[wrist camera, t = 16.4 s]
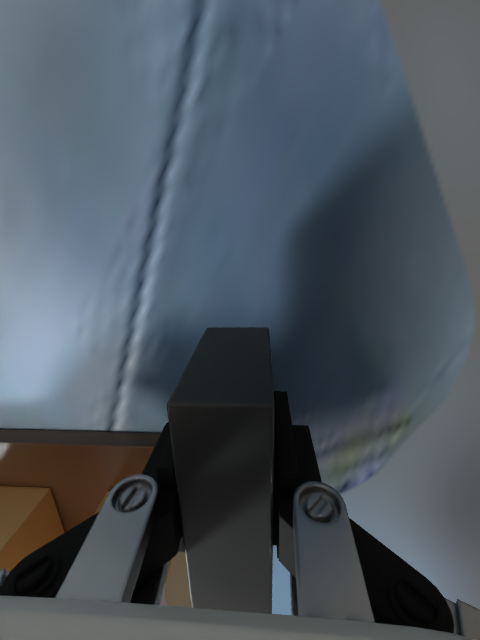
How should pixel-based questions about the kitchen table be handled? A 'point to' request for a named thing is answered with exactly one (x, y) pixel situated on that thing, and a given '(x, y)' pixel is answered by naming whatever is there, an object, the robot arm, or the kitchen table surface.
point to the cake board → (73, 465)
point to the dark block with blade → (226, 468)
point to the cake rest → (26, 522)
